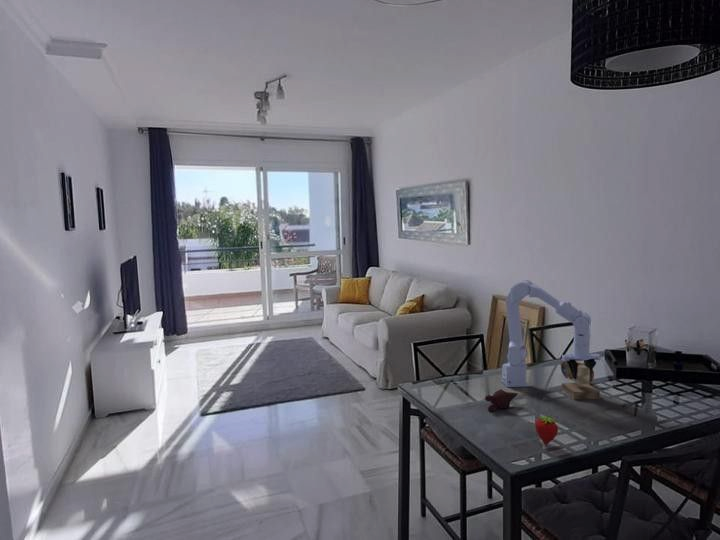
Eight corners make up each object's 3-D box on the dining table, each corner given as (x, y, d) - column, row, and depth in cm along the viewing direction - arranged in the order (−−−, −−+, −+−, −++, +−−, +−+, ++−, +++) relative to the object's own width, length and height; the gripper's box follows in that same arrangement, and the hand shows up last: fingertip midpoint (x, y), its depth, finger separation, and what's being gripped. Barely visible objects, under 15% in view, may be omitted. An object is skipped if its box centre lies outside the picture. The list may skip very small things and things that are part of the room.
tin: (560, 376, 206) (560, 357, 205) (565, 375, 208) (565, 356, 207) (589, 386, 193) (590, 366, 192) (595, 385, 194) (595, 365, 193)
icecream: (508, 383, 179) (478, 394, 173) (522, 384, 173) (491, 395, 166) (512, 401, 179) (482, 412, 172) (526, 403, 172) (495, 415, 166)
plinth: (573, 399, 179) (574, 392, 179) (561, 390, 189) (561, 383, 188) (599, 398, 179) (599, 391, 179) (585, 389, 189) (586, 382, 189)
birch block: (578, 384, 181) (578, 369, 180) (572, 380, 185) (572, 365, 185) (589, 383, 181) (589, 368, 181) (583, 379, 186) (583, 365, 185)
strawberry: (544, 437, 149) (545, 406, 148) (562, 447, 142) (563, 415, 141) (529, 440, 147) (530, 409, 146) (547, 451, 140) (547, 419, 139)
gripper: (568, 347, 178) (567, 382, 179) (605, 346, 178) (604, 380, 180) (559, 342, 185) (558, 376, 186) (595, 341, 185) (594, 374, 187)
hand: (580, 378), depth 183 cm, fingers closed on birch block, 4 cm apart
